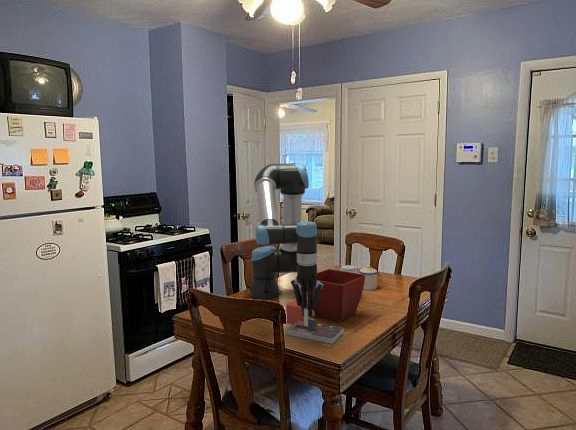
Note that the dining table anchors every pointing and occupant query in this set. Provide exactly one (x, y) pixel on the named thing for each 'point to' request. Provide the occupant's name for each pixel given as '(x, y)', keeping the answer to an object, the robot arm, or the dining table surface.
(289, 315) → the red cube
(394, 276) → the dining table surface
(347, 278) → the plant pot
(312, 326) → the breaker toggle
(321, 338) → the breaker panel
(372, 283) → the teacup with lid
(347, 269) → the supplement can
